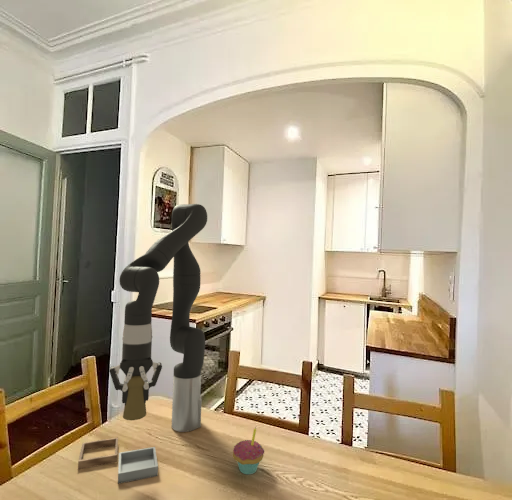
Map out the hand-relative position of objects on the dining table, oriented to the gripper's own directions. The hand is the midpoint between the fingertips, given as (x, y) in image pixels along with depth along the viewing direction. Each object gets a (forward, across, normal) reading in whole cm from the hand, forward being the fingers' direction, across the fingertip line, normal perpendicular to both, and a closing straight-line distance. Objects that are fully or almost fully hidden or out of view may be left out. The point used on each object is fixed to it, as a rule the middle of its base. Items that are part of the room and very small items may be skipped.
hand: (135, 402), depth 91 cm
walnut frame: (+17, +9, -8) cm, 21 cm away
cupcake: (+17, -29, +10) cm, 36 cm away
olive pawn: (+4, 0, 0) cm, 4 cm away
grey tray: (+17, -1, +1) cm, 17 cm away
